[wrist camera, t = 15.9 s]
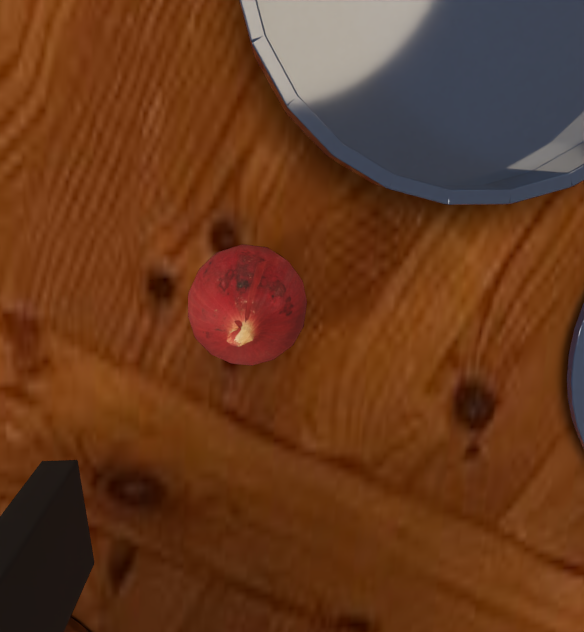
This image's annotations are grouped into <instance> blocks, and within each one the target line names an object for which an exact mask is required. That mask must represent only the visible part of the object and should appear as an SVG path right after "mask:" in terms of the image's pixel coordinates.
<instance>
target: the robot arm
mask: <svg viewBox="0 0 584 632" xmlns="http://www.w3.org/2000/svg"><path fill="white" fill-rule="evenodd" d="M93 565H94V558H93V552H92V546H91V539H90V533H89V527H88V521H87V515H86V509H85V503H84V497H83V491H82V485H81V479H80V473H79V467H78V461H77V460H65V461H42V462H41V463H40V465H39V466H38V467H37V469H36V470H35V471H34V473H33V474H32V475H31V477H30V478H29V479H28V481H27V482H26V483H25V485H24V486H23V487H22V489H21V490H20V491H19V492H18V494H17V495H16V496H15V498H14V499H13V500H12V502H11V503H10V504H9V506H8V507H7V508H6V510H5V511H4V512H3V514H2V515H1V516H0V632H89V631H88V630H86V629H85V628H84V627H83V626H82V625H81V624H79V623H78V622H77V621H75V620H74V619H72V618H71V614H72V612H73V610H74V608H75V605H76V603H77V601H78V599H79V596H80V594H81V592H82V590H83V587H84V585H85V583H86V581H87V578H88V576H89V574H90V572H91V569H92V567H93Z"/></svg>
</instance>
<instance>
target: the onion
mask: <svg viewBox="0 0 584 632" xmlns="http://www.w3.org/2000/svg"><path fill="white" fill-rule="evenodd" d="M306 305H307V299H306V295H305V290H304V285H303V281H302V280H301V278H300V277H299V275H298V274H297V273H296V271H295V270H294V268H293V267H292V266H291V264H290V263H289V262H288V261H287V260H286V259H284V258H283V257H281V256H279V255H278V254H276V253H275V252H273V251H272V250H270V249H269V248H267V247H259V246H251V245H239V246H236V247H233V248H230V249H227V250H224V251H220V252H217V253H216V254H215V255H214V256H213V257H211V258H210V259H209V260H208V261H207V262H206V263H205V264H204V265H203V266H202V267H201V268H200V269H199V271H198V273H197V275H196V277H195V280H194V282H193V284H192V286H191V289H190V291H189V293H188V317H189V320H190V323H191V326H192V330H193V333H194V336H195V338H196V339H197V340H198V341H199V342H200V343H201V344H202V345H203V346H204V347H205V348H206V349H207V350H208V351H209V353H210V354H212V355H214V356H216V357H218V358H220V359H223V360H225V361H227V362H229V363H232V364H242V365H255V364H259V363H263V362H266V361H270V360H273V359H275V358H276V357H278V356H279V355H280V354H282V353H283V352H284V351H286V350H287V349H288V348H290V347H291V346H292V345H293V344H294V342H295V340H296V339H297V337H298V335H299V333H300V332H301V330H302V328H303V326H304V320H305V312H306Z"/></svg>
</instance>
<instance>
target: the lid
mask: <svg viewBox="0 0 584 632" xmlns="http://www.w3.org/2000/svg"><path fill="white" fill-rule="evenodd" d="M567 390H568V402H569V407H570V412H571V417H572V421H573V424H574V427H575V430H576V432H577V435H578V438H579V440H580V443H581V444H582V446H583V448H584V303H583V306H582V309H581V311H580V314H579V317H578V320H577V322H576V325H575V328H574V333H573V337H572V341H571V346H570V350H569V358H568V369H567Z"/></svg>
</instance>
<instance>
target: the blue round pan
mask: <svg viewBox="0 0 584 632" xmlns="http://www.w3.org/2000/svg"><path fill="white" fill-rule="evenodd" d="M239 3H240V7H241V10H242V14H243V18H244V22H245V26H246V29H247V33H248V36H249V40H250V44H251V47H252V51H253V54H254V56H255V59H256V61H257V63H258V65H259V66H260V68H261V70H262V72H263V74H264V75H265V77H266V79H267V81H268V83H269V85H270V87H271V89H272V90H273V92H274V93H275V95H276V97H277V99H278V101H279V103H280V104H281V106H282V108H283V110H284V111H285V113H286V114H287V115H288V116H289V117H290V118H291V119H292V120H293V121H294V122H295V123H296V124H297V126H298V127H299V128H300V129H301V130H302V131H303V132H304V134H305V135H306V136H308V137H309V138H310V139H311V140H312V141H313V142H314V143H315V144H316V146H317V147H318V148H319V149H320V150H321V151H322V152H323V153H324V154H325V155H326V156H328V157H329V158H331V159H333V160H334V161H336V162H338V163H339V164H341V165H343V166H344V167H346V168H347V169H349V170H351V171H353V172H354V173H356V174H358V175H359V176H361V177H363V178H364V179H366V180H368V181H369V182H371V183H373V184H375V185H378V186H381V187H384V188H387V189H390V190H394V191H398V192H401V193H405V194H409V195H412V196H416V197H420V198H423V199H427V200H431V201H435V202H438V203H442V204H448V205H488V204H509V203H510V204H512V203H516V202H519V201H523V200H527V199H530V198H534V197H537V196H541V195H545V194H548V193H552V192H555V191H559V190H563V189H566V188H570V187H571V186H574V185H576V184H578V183H580V182H582V181H583V180H584V0H239Z"/></svg>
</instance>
